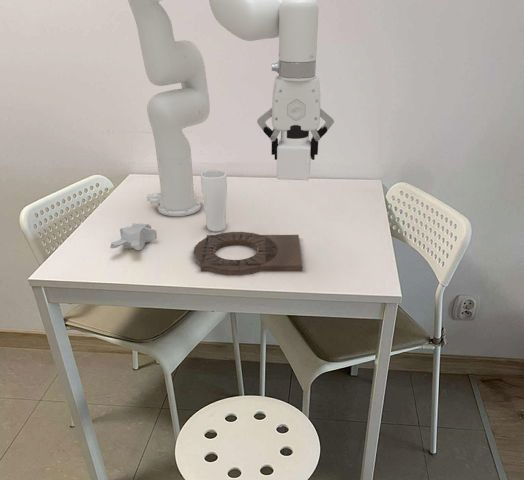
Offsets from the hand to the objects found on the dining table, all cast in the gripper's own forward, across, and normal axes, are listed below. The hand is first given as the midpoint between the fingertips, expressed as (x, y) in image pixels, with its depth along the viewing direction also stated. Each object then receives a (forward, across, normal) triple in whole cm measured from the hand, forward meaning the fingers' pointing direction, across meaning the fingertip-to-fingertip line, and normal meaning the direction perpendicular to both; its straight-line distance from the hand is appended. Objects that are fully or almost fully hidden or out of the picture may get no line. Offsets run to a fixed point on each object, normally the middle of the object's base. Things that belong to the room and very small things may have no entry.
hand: (294, 157), depth 120 cm
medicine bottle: (+4, 0, 0) cm, 4 cm away
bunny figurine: (+24, -40, +5) cm, 47 cm away
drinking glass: (+24, -20, +16) cm, 35 cm away
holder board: (+24, -11, 0) cm, 26 cm away
